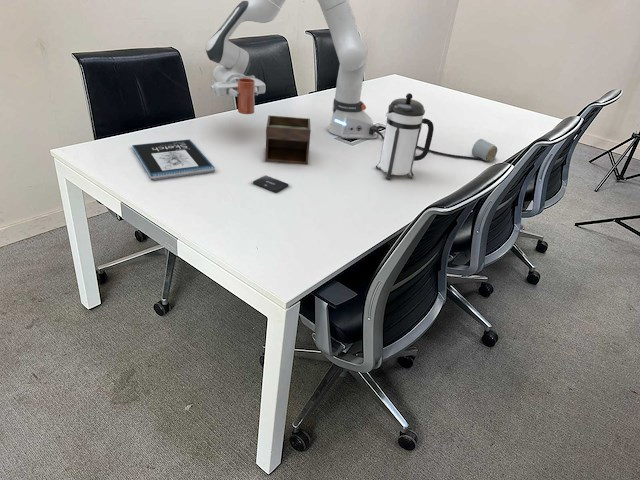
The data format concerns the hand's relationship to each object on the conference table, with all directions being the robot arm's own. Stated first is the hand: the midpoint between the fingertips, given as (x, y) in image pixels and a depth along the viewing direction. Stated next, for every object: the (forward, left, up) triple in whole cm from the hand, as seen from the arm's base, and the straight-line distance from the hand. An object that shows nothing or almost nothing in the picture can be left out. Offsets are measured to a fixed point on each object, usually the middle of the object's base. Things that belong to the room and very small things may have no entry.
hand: (247, 93), depth 177 cm
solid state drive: (-11, +37, -20) cm, 44 cm away
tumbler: (0, -1, -7) cm, 7 cm away
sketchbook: (+25, +22, -20) cm, 39 cm away
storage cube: (-16, +11, -20) cm, 28 cm away
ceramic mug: (-100, -3, -20) cm, 102 cm away
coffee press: (-58, +19, -20) cm, 65 cm away
